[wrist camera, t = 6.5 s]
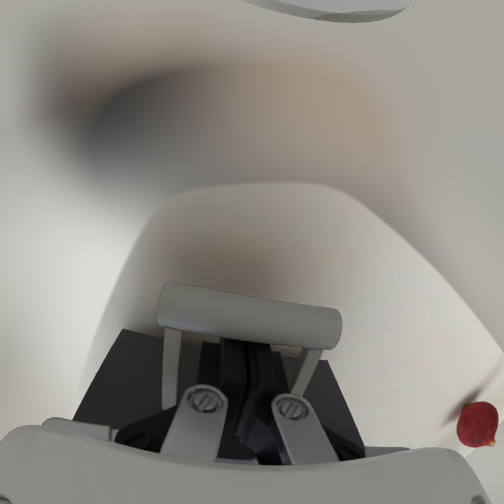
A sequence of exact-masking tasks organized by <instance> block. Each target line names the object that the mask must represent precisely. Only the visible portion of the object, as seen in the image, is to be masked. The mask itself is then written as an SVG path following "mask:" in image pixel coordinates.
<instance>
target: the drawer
mask: <svg viewBox="0 0 504 504" xmlns="http://www.w3.org/2000/svg"><path fill="white" fill-rule="evenodd" d="M158 323H159V325H161V326H165V335H164V338H160V337H156V336H151V335H147V334H143V333H139V332H135V331H131V330H127V329H122V330H121V332H120V334H119V335H118V337H117V339H116V340H115V342H114V344H113V346H112V347H111V349H110V351H109V352H108V354H107V356H106V358H105V359H104V361H103V363H102V365H101V366H100V368H99V370H98V372H97V374H96V375H95V377H94V379H93V381H92V383H91V385H90V386H89V388H88V390H87V392H86V394H85V396H84V398H83V400H82V402H81V404H80V406H79V408H78V410H77V411H76V413H75V415H74V417H73V421H79V422H85V423H91V424H98V425H105V426H110V427H111V429H116V430H120V429H121V428H123V427H125V426H127V425H130V424H132V423H135V422H138V421H140V420H143V419H145V418H147V417H150V416H152V415H155V414H157V413H159V412H162V411H164V410H166V409H168V408H171V407H173V406H175V405H177V404H180V401H181V399H182V396H183V394H184V392H185V391H186V389H188V388H189V387H191V386H194V385H196V382H197V375H198V368H199V361H200V354H201V348H202V346H200V345H195V344H189V343H184V342H183V333H184V331H189V332H194V333H200V334H205V335H211V336H217V337H223V338H229V339H236V340H243V341H250V342H257V343H265V344H273V345H281V346H291V347H301V348H303V349H302V351H301V354H300V356H299V358H288V357H282V361H283V365H284V369H285V374H286V378H287V382H288V386H289V390H290V393H291V394H296V395H299V396H301V397H303V398H305V399H306V400H307V401H308V402H309V403H310V405H311V406H312V408H313V410H314V412H315V414H316V416H317V418H318V420H319V422H320V424H322V425H323V426H325V427H327V428H328V429H330V430H332V431H333V432H335V433H337V434H339V435H340V436H342V437H344V438H346V439H347V440H349V441H351V442H353V443H355V444H356V445H358V446H359V447H360V448H361V449H363V447H364V443H363V441H362V439H361V436H360V434H359V432H358V429H357V427H356V425H355V422H354V420H353V418H352V415H351V413H350V411H349V408H348V406H347V404H346V401H345V399H344V397H343V395H342V392H341V390H340V388H339V386H338V383H337V381H336V379H335V377H334V374H333V372H332V370H331V368H330V365H329V363H328V361H327V360H319V359H320V356H321V354H322V352H323V350H322V349H324V350H331V349H333V348H334V347H335V346H336V345H337V343H338V342H339V339H340V336H341V332H342V318H341V315H340V313H339V311H338V310H336V309H332V308H324V307H317V306H310V305H303V304H296V303H289V302H282V301H276V300H270V299H263V298H257V297H251V296H245V295H239V294H234V293H228V292H222V291H217V290H211V289H206V288H201V287H195V286H190V285H185V284H180V283H175V282H170V281H168V282H166V283H165V285H164V286H163V289H162V292H161V296H160V300H159V306H158ZM216 463H226V464H240V465H253V462H252V458H251V449H250V448H249V447H248V446H246V445H245V444H244V443H240V440H239V436H236V435H235V434H234V427H233V430H232V433H231V435H230V436H229V439H228V442H227V443H226V444H224V445H223V446H221V447H220V448H219V449H218V454H217V458H216Z"/></svg>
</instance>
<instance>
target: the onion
mask: <svg viewBox="0 0 504 504" xmlns="http://www.w3.org/2000/svg"><path fill="white" fill-rule="evenodd" d="M497 427H498V413H497V410H496V408H495V407H494V406H493V405H491V404H490V403H488V402H483V401H482V402H475V403H471V404H467V405H465V406H464V407H463V409H462V412H461V414H460V417H459V419H458V423H457V435H458V438H459V440H460V441H461V443H463V444H464V445H466V446H468V447H474V448H476V447H481V446H490V447H491V446H494V445H495V439H494V436H495V433H496V430H497Z"/></svg>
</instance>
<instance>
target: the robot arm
mask: <svg viewBox="0 0 504 504" xmlns="http://www.w3.org/2000/svg"><path fill="white" fill-rule="evenodd" d="M233 427H234V434H235V435H236V436H239V440H240V443H244V444H245V445H246V446H248V447H249V448H250V449H251V458H252V462H253V465H240V464H226V463H216V458H217V454H218V449H219V448H220V447H221V446H223V445H224V444H226V443H227V442H228V439H229V436H230V435H231V433H232V430H233ZM0 504H491V502H490V500H489V498H488V496H487V494H486V492H485V490H484V488H483V486H482V485H481V483H480V481H479V480H478V478H477V476H476V474H475V473H474V471H473V470H472V468H471V467H470V465H469V464H468V463H467V461H466V460H465V459H464V458H463V457H462V456H461V455H460V454H459V453H458V452H456V451H454V450H451V449H446V448H436V447H431V448H418V449H409V448H404V447H368V446H364V447H363V449H361V448H360V447H359V446H358V445H356V444H355V443H353V442H351V441H349V440H347V439H346V438H344V437H342V436H340V435H339V434H337V433H335V432H333V431H332V430H330V429H328V428H327V427H325V426H323V425H322V424H320V422H319V420H318V418H317V416H316V414H315V412H314V410H313V408H312V406H311V405H310V403H309V402H308V401H307V400H306V399H305V398H303V397H301V396H299V395H296V394H291V393H290V390H289V386H288V382H287V378H286V374H285V369H284V365H283V361H282V357H281V354H280V352H274V351H271V348H270V344H265V343H257V342H250V341H243V340H236V339H229V338H223V337H220V341H219V344H216V343H210V342H205V341H202V348H201V354H200V361H199V368H198V375H197V382H196V385H194V386H191V387H189V388H188V389H186V391H185V392H184V394H183V396H182V399H181V401H180V404H177V405H175V406H173V407H171V408H168V409H166V410H164V411H162V412H159V413H157V414H155V415H152V416H150V417H147V418H145V419H143V420H140V421H138V422H135V423H132V424H130V425H127V426H125V427H123V428H121V429H120V430H116V429H111V427H110V426H105V425H98V424H91V423H85V422H79V421H73V420H68V419H63V418H54V417H53V418H49V419H47V420H46V421H45V422H43V424H42V426H40V425H28V426H21V427H17V428H15V429H14V430H12V431H11V432H9V433H8V434H7V435H6V436H5V437H4V438H3V439H2V441H1V442H0Z"/></svg>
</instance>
